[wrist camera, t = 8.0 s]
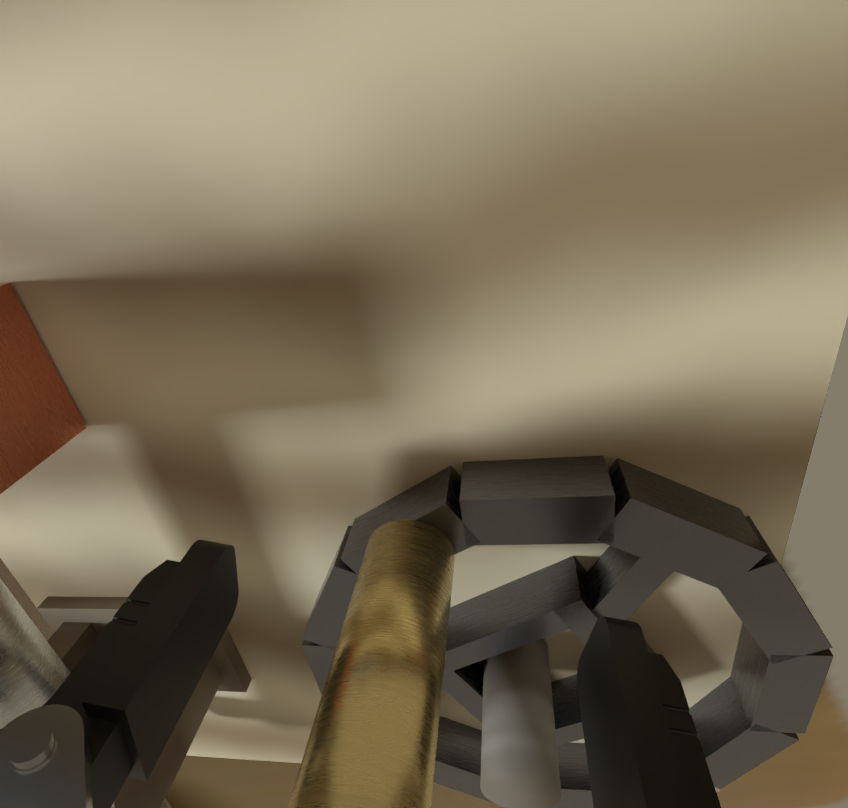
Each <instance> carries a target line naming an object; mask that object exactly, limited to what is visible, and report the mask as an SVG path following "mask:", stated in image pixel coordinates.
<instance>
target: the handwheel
mask: <svg viewBox="0 0 848 808" xmlns="http://www.w3.org/2000/svg"><path fill="white" fill-rule="evenodd" d="M595 543H605V544H607V545H610V546H609V547H608V548H607V549H606V551H605V552H604V553H603V554H602V555H601V557H600V558H599V559H598V560H597V561H596V562H595V564H594V565H593V566H592V567H591V568H590V570H589V571H588V572H587V571H586V569H585V568H584V567H583V566H582V565H581V564H580V562H579V561H578V560H577V559H576V558H575V556H571V557H569V558H566V559H564V560H562V561H559V562H557V563H555V564H552V565H550V566H547V567H545V568H543V569H540V570H538V571H536V572H533V573H531V574H528V575H526V576H524V577H521V578H519V579H516V580H514V581H512V582H509V583H507V584H505V585H502V586H500V587H497V588H495V589H493V590H490V591H488V592H486V593H483V594H481V595H478V596H476V597H474V598H471V599H469V600H467V601H464V602H462V603H459V604H457V605H455V606H452V607H450V604H451V593H452V583H453V573H454V562H455V554H457V553H459V552H461V551H464V550H466V549H468V548H470V547H472V546H475V545H535V544H595ZM674 571H675V572H678V573H680V574H683V575H685V576H688V577H690V578H693V579H696V580H698V581H701V582H703V583H706V584H708V585H711V586H713V587H716V588H718V589H719V590H720V591H721V593H722V594H723V596H724V597H725V598H726V600H727V601H728V603H729V604H730V605H731V607H732V608H733V610H734V611H735V612H736V614H737V615H738V617H739V618H740V619H741V621H742V626H741V631H740V635H739V640H738V644H737V649H736V653H735V658H734V662H733V667H732V671H731V676H730V677H729V678H728V679H726V680H725V681H724V682H723V683H721V684H720V685H719V686H718V687H716V688H715V689H714V690H712V691H711V692H710V693H709V694H707V695H706V696H705V697H703V698H702V699H701V700H700V701H698V702H697V703H696V704H695V705H693V706H692V707H691V708H689V709H690V710H689V714H690V715H692V718H693V721H694V724H695V728H696V731H697V739H699V740H700V743H701V746H702V749H703V753H704V756H705V759H706V762H707V765H708V768H709V771H710V775H711V778H712V781H713V784H714V787H716V788H718V789H721V788H723V787H725V786H726V785H728V784H729V783H731V782H733V781H734V780H736V779H737V778H739V777H741V776H742V775H744V774H745V773H747V772H749V771H750V770H752V769H753V768H755V767H757V766H758V765H760V764H761V763H763V762H765V761H766V760H768V759H769V758H771V757H773V756H774V755H776V754H777V753H779V752H781V751H782V750H784V749H785V748H787V747H789V746H790V745H792V744H793V743H795V742H797V741H798V740H799V739H798V737H797V735H796V733H805V732H806V729H807V727H808V724H809V721H810V718H811V716H812V713H813V710H814V708H815V705H816V702H817V699H818V697H819V694H820V691H821V688H822V686H823V683H824V680H825V678H826V675H827V672H828V669H829V667H830V664H831V661H832V658H833V655H832V653H831V651H830V650H829V648H832V646H831V644H830V643H829V641H828V639H827V638H826V636H825V635H824V633H823V632H822V630H821V628H820V627H819V625H818V623H817V622H816V620H815V619H814V617H813V615H812V614H811V612H810V611H809V609H808V607H807V606H806V604H805V602H804V601H803V599H802V598H801V596H800V595H799V593H798V591H797V590H796V588H795V587H794V585H793V584H792V582H791V580H790V579H789V577H788V576H787V574H786V573H785V571H784V569H783V568H782V566H781V565H780V563H779V562H778V560H777V558H776V557H775V555H774V554H773V552H772V551H771V549H770V547H769V546H768V544H767V543H766V541H765V540H764V538H763V536H762V535H761V533H760V532H759V530H758V529H757V527H756V525H755V524H754V522H753V521H752V519H751V518H750V516H747V517H745V516H744V514H743V512H742V511H741V509H740V508H738V507H735V506H733V505H731V504H728V503H726V502H723V501H721V500H718V499H716V498H714V497H711V496H709V495H706V494H704V493H702V492H699V491H697V490H694V489H692V488H689V487H687V486H685V485H682V484H680V483H677V482H675V481H672V480H670V479H668V478H665V477H663V476H660V475H658V474H655V473H653V472H651V471H648V470H646V469H643V468H641V467H638V466H636V465H634V464H631V463H629V462H626V461H624V460H622V459H619V458H617V459H616V460H615V461H614V463H613V464H612V465H611V467H610V468H609V469H608V470H607V466H606V463H605V460H604V457H603V455H601V456H579V457H558V458H536V459H514V460H493V461H471V462H463V469H462V477H461V476H460V475H459V474H458V473H457V472H456V470H455V469H454V468H453V467H452V466H451V465H450V466H449V467H447V468H445V469H443V470H441V471H440V472H438V473H436V474H434V475H432V476H431V477H429V478H427V479H425V480H423V481H422V482H420V483H418V484H416V485H414V486H413V487H411V488H409V489H407V490H406V491H404V492H402V493H400V494H398V495H397V496H395V497H393V498H391V499H389V500H388V501H386V502H384V503H382V504H380V505H379V506H377V507H375V508H373V509H371V510H370V511H368V512H366V513H364V514H362V515H361V516H359V517H357V518H355V519H354V522H353V525H352V527H351V526H348V527H347V530H346V532H345V534H344V536H343V539H342V541H341V543H340V546H339V548H338V550H337V553H336V555H335V557H334V559H333V562H332V564H331V566H330V569H329V571H328V573H327V575H326V578H325V580H324V582H323V585H322V587H321V589H320V591H319V594H318V596H317V599H316V601H315V604H314V607H313V609H312V612H311V615H310V617H309V620H308V623H307V625H306V628H305V631H304V634H303V636H302V639H304V641H303V644H302V647H303V650H304V652H305V655H306V657H307V660H308V662H309V665H310V667H311V670H312V672H313V675H314V677H315V680H316V682H317V685H318V687H319V690H320V692H321V695H322V696H321V700H320V703H319V706H318V709H317V713H316V716H315V719H314V723H313V726H312V729H311V733H310V736H309V739H308V743H307V746H306V749H305V753H304V756H303V759H302V762H301V766H300V769H299V772H298V776H297V779H296V782H295V786H294V789H293V792H292V796H291V799H290V802H289V806H288V808H431V799H432V789H433V782H434V783H437V784H440V785H443V786H446V787H449V788H452V789H455V790H458V791H461V792H464V793H467V794H469V795H472V796H475V797H478V798H481V799H484V800H487V801H490V800H489V799H487V798H486V797H485V796H484V795H483V793H482V791H481V788H480V781H481V744H482V731H481V730H479V729H476V728H473V727H470V726H467V725H465V724H462V723H459V722H456V721H453V720H450V719H448V718H445V717H442V716H440V707H441V696H442V689H444V690H445V691H446V692H447V693H448V694H450V695H451V696H452V697H453V698H454V699H455V700H456V701H457V702H459V703H460V704H461V705H462V706H463V707H464V708H465V709H466V710H467V711H469V712H470V713H471V714H472V715H473V716H474V717H475V718H476V719H478V720H479V721H480V722H481V723H482V706H483V669H484V660H485V659H487V658H490V657H493V656H496V655H498V654H501V653H504V652H507V651H510V650H512V649H515V648H518V647H521V646H524V645H526V644H529V643H532V642H535V641H537V640H540V639H543V638H546V637H549V636H551V635H554V634H557V633H560V632H563V631H565V630H568V629H570V630H571V631H572V632H573V633H574V634H575V635H576V636H577V638H578V639H579V640H580V641H581V642H582V643H583V644H584V645H586V643H587V641H588V639H589V636H590V634H591V632H592V630H593V628H594V625H595V623H596V621H597V619H598V618H599V617H600V616H606V617H611V618H616V619H622V620H627V619H628V618H629V617H630V616H631V615H632V614H633V613H634V612H635V610H636V609H637V608H638V607H639V606H640V605H641V604H642V603H643V602H644V601H645V600H646V599H647V598H648V597H649V596H650V595H651V594H652V593H653V592H654V591H655V590H656V589H657V588H658V587H659V586H660V585H661V584H662V583H663V582H664V581H665V580H666V579H667V578H668V577H669V576H670V575H671V574H672V573H673V572H674ZM627 621H628V620H627ZM645 642H646V641H645ZM646 646H647V650H648V652H650V653H655V652H654V651H653V649H652V648H651V647H650V646H649V645H648V643H647V642H646ZM655 654H656V653H655ZM551 687H552V698H553V709H554V720H555V731H556V742H557V753H558V764H559V774H560V785H561V798H560V800H559V801H558V802H557V803H556V804H555V805H553V806H551V807H549V808H594V807H593V800H592V792H591V785H590V778H589V770H588V763H587V756H586V748H585V743H571V742H573V741H577V740H581V739H584V734H583V727H582V719H581V712H580V705H579V697H578V690H577V674H575V675H572V676H569V677H566V678H563V679H560V680H557V681H553V682H551ZM490 802H492V801H490Z"/></svg>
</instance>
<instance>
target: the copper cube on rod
mask: <svg viewBox="0 0 848 808" xmlns="http://www.w3.org/2000/svg"><path fill="white" fill-rule="evenodd" d="M86 428H87V427H86V425H85V424H84V422H83V420H82V418H81V416H80V414H79V412H78V410H77V408H76V407H75V405H74V403H73V401H72V399H71V397H70V395H69V393H68V392H67V390H66V388H65V386H64V384H63V382H62V380H61V378H60V377H59V375H58V373H57V371H56V369H55V367H54V365H53V363H52V361H51V360H50V358H49V356H48V354H47V352H46V350H45V348H44V346H43V345H42V343H41V341H40V339H39V337H38V335H37V333H36V331H35V329H34V328H33V326H32V324H31V322H30V320H29V318H28V316H27V314H26V313H25V311H24V309H23V307H22V305H21V303H20V301H19V299H18V298H17V296H16V294H15V292H14V290H13V288H12V286H11V284H10V283H4V284H0V494H1V493H3V492H4V491H5V490H6V489H8V488H9V487H10V486H12V485H13V484H14V483H16V482H17V481H18V480H19V479H21V478H22V477H23V476H25V475H26V474H27V473H29V472H30V471H31V470H32V469H34V468H35V467H36V466H38V465H39V464H40V463H42V462H43V461H44V460H45V459H47V458H48V457H49V456H51V455H52V454H53V453H54V452H56V451H57V450H58V449H60V448H61V447H62V446H64V445H65V444H66V443H67V442H69V441H70V440H71V439H73V438H74V437H75V436H77V435H78V434H79V433H80V432H82V431H83V430H84V429H86ZM70 673H71V672H70V671H69V670H68V668H67V667H66V666H65V664H64V663H63V662H62V660H61V659H60V658H59V656H58V655H57V654H56V652H55V651H54V650H53V648H52V647H51V646H50V644H49V643H48V642H47V640H46V639H45V638H44V636H43V635H42V634H41V632H40V631H39V630H38V628H37V627H36V626H35V624H34V623H33V622H32V620H31V619H30V618H29V616H28V615H27V614H26V612H25V611H24V610H23V608H22V607H21V606H20V604H19V603H18V602H17V600H16V599H15V598H14V596H13V595H12V594H11V592H10V591H9V590H8V588H7V587H6V586H5V584H4V583H3V582H2V580H1V579H0V729H2V728H3V727H5V726H6V725H7V724H8V723H9V722H11V721H12V720H14V719H15V718H17V717H18V716H20V715H22V714H24V713H25V712H28V711H30V710H32V709H35V708H38V707H41V706H43V705H44V704H45V703H46V702H47V701H48V700H49V699H50V698H51V697H52V696H53V695H54V693H55V692H56V691H57V690H58V689H59V687H60V686H61V685H62V683H63V682H64V681H65V679H66V678H67V677H68V675H69V674H70ZM193 740H194V739H193ZM182 763H183V762H182ZM181 765H182V764H181ZM180 767H181V766H180ZM179 769H180V768H179ZM178 771H179V770H178ZM167 794H168V793H167ZM166 796H167V795H166ZM165 798H166V797H165ZM161 808H172V807H171V805H170V804H169V803H168V801H167V800H166V799H164V801H163V803H162V806H161Z"/></svg>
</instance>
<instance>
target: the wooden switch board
mask: <svg viewBox="0 0 848 808" xmlns="http://www.w3.org/2000/svg"><path fill="white" fill-rule="evenodd" d="M4 283H10V284H11V286H12V288H13V290H14V292H15V294H16V296H17V298H18V299H19V301H20V303H21V305H22V307H23V309H24V311H25V313H26V314H27V316H28V318H29V320H30V322H31V324H32V326H33V328H34V329H35V331H36V333H37V335H38V337H39V339H40V341H41V343H42V345H43V346H44V348H45V350H46V352H47V354H48V356H49V358H50V360H51V361H52V363H53V365H54V367H55V369H56V371H57V373H58V375H59V377H60V378H61V380H62V382H63V384H64V386H65V388H66V390H67V392H68V393H69V395H70V397H71V399H72V401H73V403H74V405H75V407H76V408H77V410H78V412H79V414H80V416H81V418H82V420H83V422H84V424H85V425H86V427H87V428H86V429H84V430H83V431H82V432H80V433H79V434H78V435H77V436H75V437H74V438H73V439H71V440H70V441H69V442H67V443H66V444H65V445H64V446H62V447H61V448H60V449H58V450H57V451H56V452H54V453H53V454H52V455H51V456H49V457H48V458H47V459H45V460H44V461H43V462H42V463H40V464H39V465H38V466H36V467H35V468H34V469H32V470H31V471H30V472H29V473H27V474H26V475H25V476H23V477H22V478H21V479H19V480H18V481H17V482H16V483H14V484H13V485H12V486H10V487H9V488H8V489H6V490H5V491H4V492H3V493H1V494H0V558H1V559H2V561H3V562H4V563H5V565H6V566H7V568H8V569H9V570H10V572H11V573H12V574H13V576H14V577H15V579H16V580H17V581H18V583H19V584H20V585H21V587H22V588H23V589H24V591H25V592H26V594H27V595H28V596H29V598H30V599H31V600H32V602H33V603H34V605H35V606H36V607H37V609H38V611H39V612H40V613H41V615H42V616H43V618H44V619H45V620H46V622H47V623H48V624H49V626H50V627H51V628H52V630H53V631H54V634H53V635H52V636H51V638H50V639H49V640H48V641H47V642H48V643H49V644H50V646H51V647H52V648H53V650H54V651H55V652H56V654H57V655H58V656H59V658H60V659H61V660H62V662H63V663H64V664H65V666H66V667H67V668H68V670H69V671H70V672H72V670H73V669H74V668H75V666H76V665H77V664H78V662H79V661H80V660H81V658H82V657H83V656H84V654H85V653H86V652H87V650H88V649H89V648H90V647H91V645H92V644H93V643H94V641H95V640H96V639H97V637H98V636H99V635H100V633H101V632H102V631H103V629H104V628H105V627H106V625H107V624H108V623H109V622H111V621H112V620H113V616H114V615H115V614H116V612H117V611H118V610H119V608H120V607H121V606H122V604H123V603H126V601H127V598H128V597H129V595H130V594H131V593H132V591H133V590H134V589H135V587H136V586H137V585H138V583H139V582H140V581H141V579H142V578H143V577H144V576H145V575H147V574H148V573H149V572H151V571H152V570H154V569H155V568H156V567H158V566H159V565H160V564H162V563H163V562H165V561H166V560H172V561H177V562H180V561H181V560H182V558H183V557H184V556H185V554H186V553H187V551H188V550H189V549H190V547H191V546H192V545H193V543H194V542H196V541H197V540H206V541H211V542H217V543H222V544H227V545H232V546H233V547H234V548H235V555H236V566H237V577H238V588H239V595H238V601H237V605H236V609H235V612H234V615H233V617H232V619H231V621H230V623H229V625H228V627H227V629H226V631H225V633H224V635H223V637H222V638H221V640H220V642H219V644H218V646H217V648H216V650H215V652H214V654H213V656H212V658H211V659H210V661H209V663H208V665H207V667H206V669H205V671H204V673H203V675H202V677H201V679H200V680H199V682H198V684H197V686H196V688H195V690H194V692H193V694H192V696H191V698H190V700H189V701H188V703H187V705H186V707H185V709H184V711H183V713H182V715H181V717H180V719H179V721H178V722H177V724H176V726H175V728H174V730H173V732H172V734H171V736H170V738H169V740H168V742H167V743H166V745H165V747H164V749H163V751H162V753H161V755H160V757H159V759H158V761H157V763H156V764H155V766H154V768H153V770H152V772H151V774H150V776H149V778H148V780H147V781H144V780H139V779H135V778H130V777H127V779H126V781H125V783H124V784H123V786H122V788H121V790H120V792H119V793H118V795H117V797H116V799H115V801H114V805H115V808H161V806H162V803H163V801H164V799H165V797H166V795H167V793H168V791H169V789H170V787H171V785H172V783H173V781H174V779H175V777H176V775H177V773H178V770H179V768H180V766H181V764H182V762H183V760H184V758H185V756H186V755H188V756H203V757H218V758H232V759H247V760H262V761H276V762H291V763H301V762H302V759H303V756H304V753H305V749H306V746H307V743H308V739H309V736H310V733H311V729H312V726H313V723H314V719H315V716H316V713H317V709H318V706H319V703H320V700H321V696H322V695H321V692H320V690H319V687H318V685H317V682H316V680H315V677H314V675H313V672H312V670H311V667H310V665H309V662H308V660H307V657H306V655H305V652H304V650H303V647H302V644H303V641H304V639H302V636H303V634H304V631H305V628H306V625H307V623H308V620H309V617H310V615H311V612H312V609H313V607H314V604H315V601H316V599H317V596H318V594H319V591H320V589H321V587H322V585H323V582H324V580H325V578H326V575H327V573H328V571H329V569H330V566H331V564H332V562H333V559H334V557H335V555H336V553H337V550H338V548H339V546H340V543H341V541H342V539H343V536H344V534H345V532H346V530H347V527H348V526H351V527H352V525H353V522H354V519H355V518H357V517H359V516H361V515H362V514H364V513H366V512H368V511H370V510H371V509H373V508H375V507H377V506H379V505H380V504H382V503H384V502H386V501H388V500H389V499H391V498H393V497H395V496H397V495H398V494H400V493H402V492H404V491H406V490H407V489H409V488H411V487H413V486H414V485H416V484H418V483H420V482H422V481H423V480H425V479H427V478H429V477H431V476H432V475H434V474H436V473H438V472H440V471H441V470H443V469H445V468H447V467H449V466H450V465H451V466H452V467H453V468H454V469H455V470H456V472H457V473H458V474H459V475H460V476H461V477H462V469H463V462H471V461H493V460H514V459H536V458H558V457H579V456H601V455H603V457H604V460H605V463H606V466H607V470H608V469H609V468H610V467H611V465H612V464H613V463H614V461H615V460H616V459H617V458H619V459H622V460H624V461H626V462H629V463H631V464H634V465H636V466H638V467H641V468H643V469H646V470H648V471H651V472H653V473H655V474H658V475H660V476H663V477H665V478H668V479H670V480H672V481H675V482H677V483H680V484H682V485H685V486H687V487H689V488H692V489H694V490H697V491H699V492H702V493H704V494H706V495H709V496H711V497H714V498H716V499H718V500H721V501H723V502H726V503H728V504H731V505H733V506H735V507H738V508H740V509H741V511H742V512H743V514H744V516H745V517H747V516H750V518H751V519H752V521H753V522H754V524H755V525H756V527H757V529H758V530H759V532H760V533H761V535H762V536H763V538H764V540H765V541H766V543H767V544H768V546H769V547H770V549H771V551H772V552H773V554H774V555H775V557H776V558H777V560H778V562H779V563H780V565H781V562H782V558H783V555H784V551H785V547H786V544H787V540H788V536H789V532H790V528H791V525H792V521H793V517H794V514H795V510H796V506H797V503H798V499H799V495H800V492H801V488H802V484H803V480H804V477H805V473H806V469H807V465H808V462H809V458H810V454H811V451H812V447H813V443H814V440H815V436H816V432H817V429H818V424H819V421H820V417H821V414H822V410H823V406H824V403H825V399H826V395H827V391H828V388H829V384H830V380H831V377H832V373H833V369H834V365H835V362H836V358H837V354H838V351H839V347H840V343H841V339H842V336H843V332H844V328H845V325H846V321H847V317H848V0H0V284H4ZM609 546H610V545H607V544H605V543H595V544H535V545H475V546H472V547H470V548H468V549H466V550H464V551H461V552H459V553H457V554H455V562H454V573H453V583H452V593H451V604H450V607H452V606H455V605H457V604H459V603H462V602H464V601H467V600H469V599H471V598H474V597H476V596H478V595H481V594H483V593H486V592H488V591H490V590H493V589H495V588H497V587H500V586H502V585H505V584H507V583H509V582H512V581H514V580H516V579H519V578H521V577H524V576H526V575H528V574H531V573H533V572H536V571H538V570H540V569H543V568H545V567H547V566H550V565H552V564H555V563H557V562H559V561H562V560H564V559H566V558H569V557H571V556H575V558H576V559H577V560H578V561H579V562H580V564H581V565H582V566H583V567H584V568H585V569H586V571H587V572H588V571H589V570H590V568H591V567H592V566H593V565H594V564H595V562H596V561H597V560H598V559H599V558H600V557H601V555H602V554H603V553H604V552H605V551H606V549H607V548H608V547H609ZM627 620H628V621H632V622H637V623H638V624H639V625H640V627H641V629H642V632H643V635H644V639H645V641H646V642H647V643H648V645H649V646H650V647H651V648H652V649H653V651H654V652H655V653H656V654H660V655H663V656H664V658H665V659H666V660H667V662H668V663H669V665H670V666H671V668H672V669H673V671H674V672H675V674H676V675H677V676H678V678H679V679H680V681H681V684H682V687H683V690H684V693H685V696H686V699H687V703H688V706H689V708H691V707H692V706H693V705H695V704H696V703H697V702H698V701H700V700H701V699H702V698H703V697H705V696H706V695H707V694H709V693H710V692H711V691H712V690H714V689H715V688H716V687H718V686H719V685H720V684H721V683H723V682H724V681H725V680H726V679H728V678H729V677H730V676H731V671H732V667H733V662H734V658H735V653H736V649H737V644H738V640H739V635H740V631H741V626H742V621H741V619H740V618H739V617H738V615H737V614H736V612H735V611H734V610H733V608H732V607H731V605H730V604H729V603H728V601H727V600H726V598H725V597H724V596H723V594H722V593H721V591H720V590H719V589H718V588H716V587H713V586H711V585H708V584H706V583H703V582H701V581H698V580H696V579H693V578H690V577H688V576H685V575H683V574H680V573H678V572H675V571H674V572H673V573H672V574H671V575H670V576H669V577H668V578H667V579H666V580H665V581H664V582H663V583H662V584H661V585H660V586H659V587H658V588H657V589H656V590H655V591H654V592H653V593H652V594H651V595H650V596H649V597H648V598H647V599H646V600H645V601H644V602H643V603H642V604H641V605H640V606H639V607H638V608H637V609H636V610H635V612H634V613H633V614H632V615H631V616H630V617H629V618H628V619H627ZM584 647H585V645H584V644H583V643H582V642H581V641H580V640H579V639H578V638H577V636H576V635H575V634H574V633H573V632H572V631H571V630H570V629H568V630H565V631H563V632H560V633H557V634H554V635H551V636H549V637H546V638H543V639H540V640H537V641H535V642H532V643H529V644H526V645H524V646H521V647H518V648H515V649H512V650H510V651H507V652H504V653H501V654H498V655H496V656H493V657H490V658H487V659H485V660H484V669H483V706H482V723H481V722H480V721H479V720H478V719H476V718H475V717H474V716H473V715H472V714H471V713H470V712H469V711H467V710H466V709H465V708H464V707H463V706H462V705H461V704H460V703H459V702H457V701H456V700H455V699H454V698H453V697H452V696H451V695H450V694H448V693H447V692H446V691H445V690H444V689H442V696H441V707H440V716H442V717H445V718H448V719H450V720H453V721H456V722H459V723H462V724H465V725H467V726H470V727H473V728H476V729H479V730H481V731H482V744H481V781H480V788H481V791H482V793H483V795H484V796H485V797H486V798H487V799H489V800H490V801H492V802H493V803H495V804H497V805H500V806H502V807H505V808H549V807H551V806H553V805H555V804H556V803H557V802H558V801H559V800H560V798H561V785H560V774H559V764H558V753H557V742H556V731H555V720H554V709H553V698H552V687H551V682H553V681H557V680H560V679H563V678H566V677H569V676H572V675H575V674H577V669H578V663H579V659H580V656H581V654H582V652H583V650H584ZM193 739H194V740H193ZM571 743H585V741H584V739H581V740H577V741H573V742H571ZM715 790H716V792H720V789H718V788H716V787H715Z"/></svg>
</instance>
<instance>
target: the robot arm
mask: <svg viewBox="0 0 848 808" xmlns="http://www.w3.org/2000/svg"><path fill="white" fill-rule="evenodd" d="M238 595H239V588H238V577H237V566H236V555H235V548H234V547H233V546H232V545H227V544H222V543H217V542H211V541H206V540H197V541H196V542H194V543H193V545H192V546H191V547H190V549H189V550H188V551H187V553H186V554H185V556H184V557H183V558H182V560H181V561H180V562H177V561H172V560H166V561H165V562H163V563H162V564H160V565H159V566H158V567H156V568H155V569H154V570H152V571H151V572H149V573H148V574H147V575H145V576H144V577H143V578H142V579H141V581H140V582H139V583H138V585H137V586H136V587H135V589H134V590H133V591H132V593H131V594H130V595H129V597H128V598H127V601H126V603H123V604H122V606H121V607H120V608H119V610H118V611H117V612H116V614H115V615H114V616H113V620H112V621H111V622H109V623H108V624H107V625H106V627H105V628H104V629H103V631H102V632H101V633H100V635H99V636H98V637H97V639H96V640H95V641H94V643H93V644H92V645H91V647H90V648H89V649H88V650H87V652H86V653H85V654H84V656H83V657H82V658H81V660H80V661H79V662H78V664H77V665H76V666H75V668H74V669H73V670H72V672H71V673H70V674H69V675H68V677H67V678H66V679H65V681H64V682H63V683H62V685H61V686H60V687H59V689H58V690H57V691H56V692H55V693H54V695H53V696H52V697H51V698H50V699H49V700H48V701H47V702H46V703H45V704H44V705H43V706H41V707H38V708H35V709H32V710H30V711H28V712H25V713H24V714H22V715H20V716H18V717H17V718H15V719H14V720H12V721H11V722H9V723H8V724H7V725H6V726H5V727H3V728H2V729H0V808H115V805H114V801H115V799H116V797H117V795H118V793H119V792H120V790H121V788H122V786H123V784H124V783H125V781H126V779H127V777H130V778H135V779H139V780H144V781H147V780H148V778H149V776H150V774H151V772H152V770H153V768H154V766H155V764H156V763H157V761H158V759H159V757H160V755H161V753H162V751H163V749H164V747H165V745H166V743H167V742H168V740H169V738H170V736H171V734H172V732H173V730H174V728H175V726H176V724H177V722H178V721H179V719H180V717H181V715H182V713H183V711H184V709H185V707H186V705H187V703H188V701H189V700H190V698H191V696H192V694H193V692H194V690H195V688H196V686H197V684H198V682H199V680H200V679H201V677H202V675H203V673H204V671H205V669H206V667H207V665H208V663H209V661H210V659H211V658H212V656H213V654H214V652H215V650H216V648H217V646H218V644H219V642H220V640H221V638H222V637H223V635H224V633H225V631H226V629H227V627H228V625H229V623H230V621H231V619H232V617H233V615H234V612H235V609H236V605H237V601H238ZM577 690H578V697H579V705H580V712H581V719H582V727H583V734H584V741H585V748H586V756H587V763H588V770H589V778H590V785H591V792H592V800H593V807H594V808H721V806H720V803H719V800H718V796H717V793H716V790H715V787H714V784H713V781H712V778H711V775H710V771H709V768H708V765H707V762H706V759H705V756H704V753H703V749H702V746H701V743H700V740H699V739H697V731H696V728H695V724H694V721H693V718H692V715H690V714H689V710H690V709H689V706H688V703H687V699H686V696H685V693H684V690H683V687H682V684H681V681H680V679H679V678H678V676H677V675H676V674H675V672H674V671H673V669H672V668H671V666H670V665H669V663H668V662H667V660H666V659H665V658H664V656H663V655H660V654H655V653H650V652H648V650H647V646H646V642H645V639H644V635H643V632H642V629H641V627H640V625H639V624H638V623H637V622H632V621H627V620H622V619H616V618H611V617H606V616H600V617H599V618H598V619H597V621H596V623H595V625H594V628H593V630H592V632H591V634H590V636H589V639H588V641H587V643H586V645H585V647H584V650H583V652H582V654H581V656H580V659H579V663H578V669H577Z"/></svg>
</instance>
